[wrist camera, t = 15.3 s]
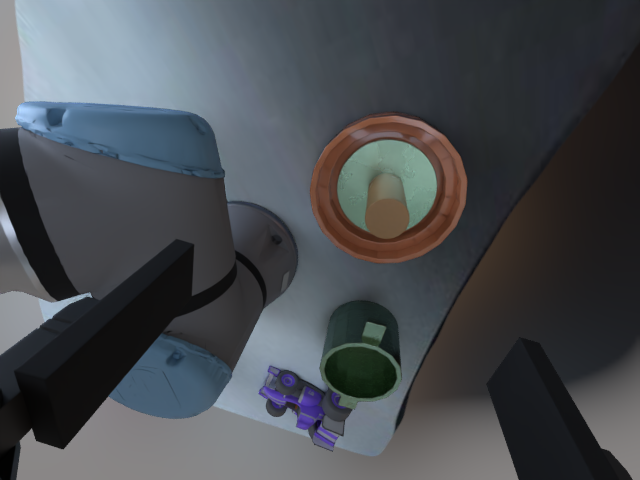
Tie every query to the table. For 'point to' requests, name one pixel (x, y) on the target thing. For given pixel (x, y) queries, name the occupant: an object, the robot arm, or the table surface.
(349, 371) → the green open cylinder
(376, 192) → the green disc with rod
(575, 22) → the table surface
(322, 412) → the toy race car
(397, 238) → the bowl
